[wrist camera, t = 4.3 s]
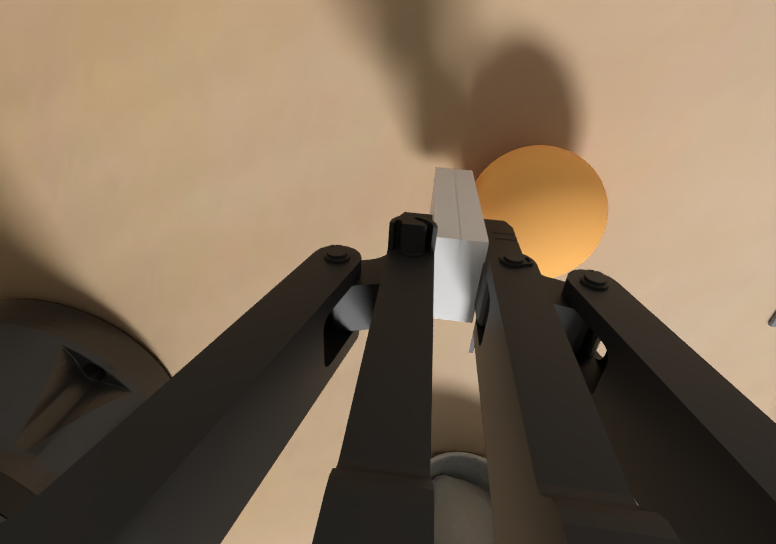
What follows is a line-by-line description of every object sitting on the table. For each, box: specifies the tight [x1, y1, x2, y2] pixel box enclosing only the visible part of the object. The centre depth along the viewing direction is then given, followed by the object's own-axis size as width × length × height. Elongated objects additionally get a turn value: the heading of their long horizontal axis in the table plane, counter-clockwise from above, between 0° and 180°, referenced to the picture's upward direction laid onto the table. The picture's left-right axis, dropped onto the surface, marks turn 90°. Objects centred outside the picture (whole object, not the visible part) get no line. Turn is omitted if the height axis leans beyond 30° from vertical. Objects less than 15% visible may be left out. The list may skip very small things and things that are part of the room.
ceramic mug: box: [430, 452, 496, 544], centre depth 28 cm, size 11×8×8 cm
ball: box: [475, 145, 608, 278], centre depth 17 cm, size 6×6×6 cm
